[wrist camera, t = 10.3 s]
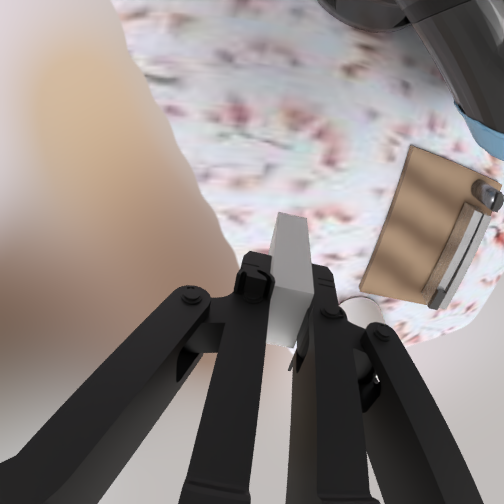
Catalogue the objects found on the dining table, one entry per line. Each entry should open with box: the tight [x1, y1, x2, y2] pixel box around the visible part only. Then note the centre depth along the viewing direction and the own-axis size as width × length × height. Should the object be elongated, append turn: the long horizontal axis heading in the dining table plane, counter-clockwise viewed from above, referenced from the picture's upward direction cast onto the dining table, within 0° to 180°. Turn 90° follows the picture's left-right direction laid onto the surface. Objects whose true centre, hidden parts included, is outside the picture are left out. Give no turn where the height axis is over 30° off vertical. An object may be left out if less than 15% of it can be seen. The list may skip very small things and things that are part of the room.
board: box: [359, 145, 502, 305], centre depth 41 cm, size 22×16×1 cm
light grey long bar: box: [421, 202, 482, 310], centre depth 39 cm, size 16×2×4 cm, turn 168°
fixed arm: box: [439, 179, 504, 309], centre depth 37 cm, size 19×3×5 cm, turn 169°
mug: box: [339, 297, 385, 378], centre depth 45 cm, size 12×8×10 cm
